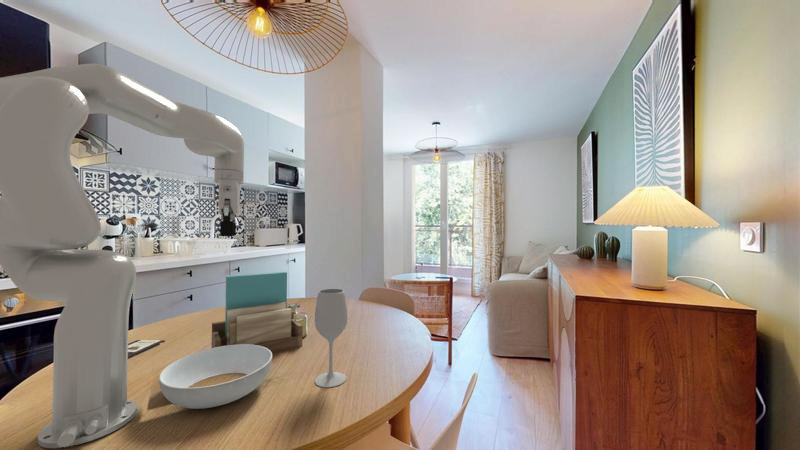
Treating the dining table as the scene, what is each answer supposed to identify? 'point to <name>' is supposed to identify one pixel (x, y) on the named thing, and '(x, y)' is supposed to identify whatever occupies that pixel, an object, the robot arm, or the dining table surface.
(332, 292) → the wineglass
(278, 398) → the dining table surface
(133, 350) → the chocolate bar
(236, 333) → the plywood offcuts
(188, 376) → the serving bowl
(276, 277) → the teal board
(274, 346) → the walnut rack
